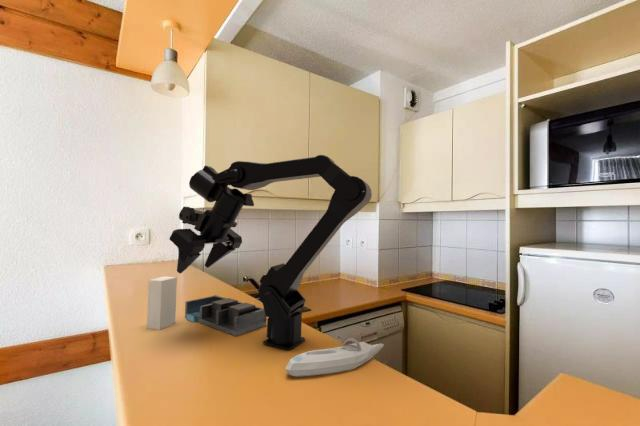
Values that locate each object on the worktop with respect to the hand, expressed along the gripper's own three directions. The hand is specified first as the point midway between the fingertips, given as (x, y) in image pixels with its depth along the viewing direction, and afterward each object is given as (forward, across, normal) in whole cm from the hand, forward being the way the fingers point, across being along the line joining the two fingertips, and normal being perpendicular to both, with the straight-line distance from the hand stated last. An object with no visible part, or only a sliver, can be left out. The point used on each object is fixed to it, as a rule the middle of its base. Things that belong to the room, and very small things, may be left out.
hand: (193, 269), depth 74 cm
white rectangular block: (+15, +2, +1) cm, 15 cm away
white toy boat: (-7, +4, +39) cm, 39 cm away
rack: (+9, -6, +11) cm, 15 cm away
